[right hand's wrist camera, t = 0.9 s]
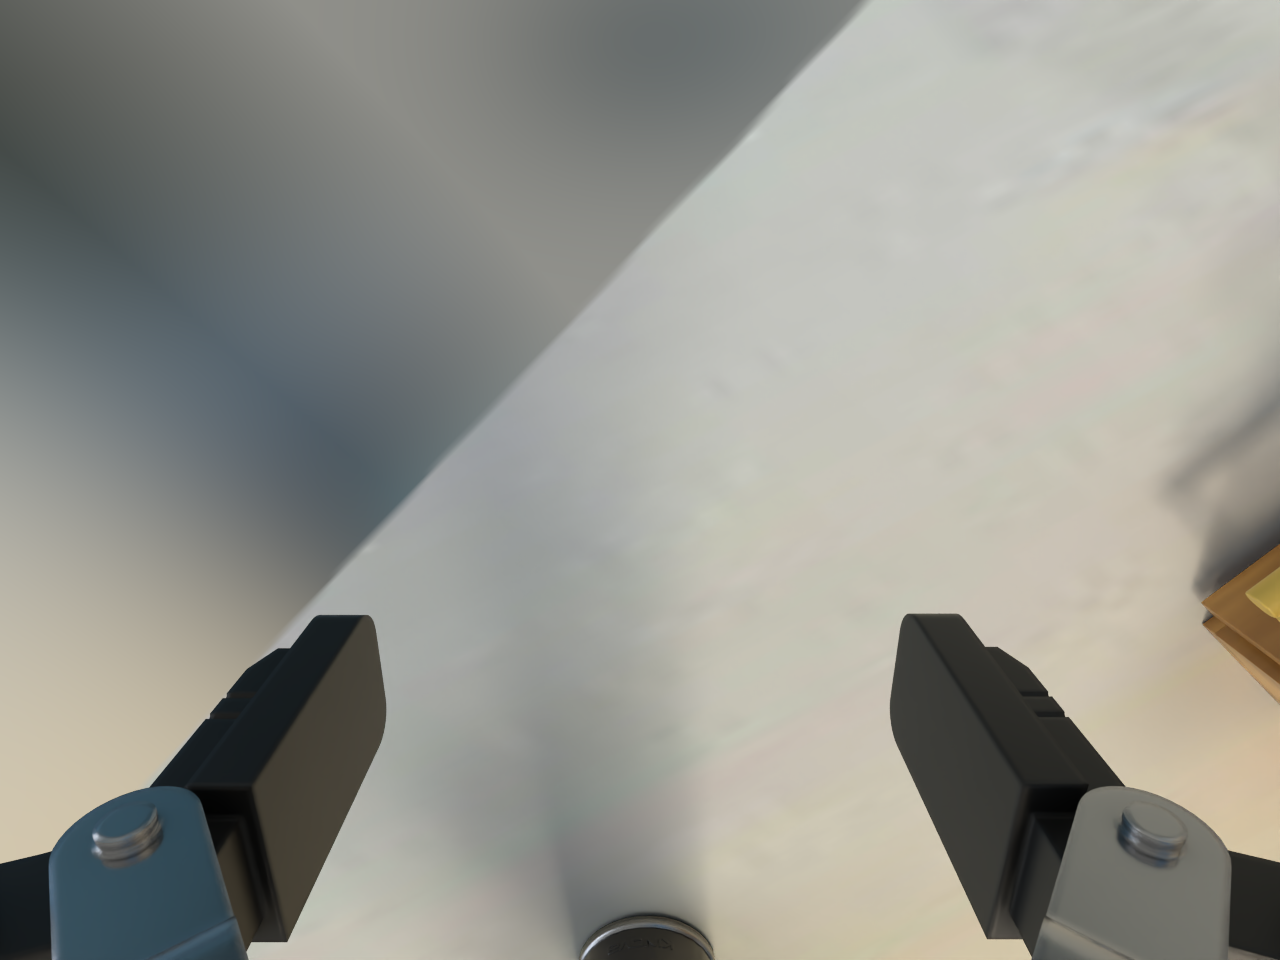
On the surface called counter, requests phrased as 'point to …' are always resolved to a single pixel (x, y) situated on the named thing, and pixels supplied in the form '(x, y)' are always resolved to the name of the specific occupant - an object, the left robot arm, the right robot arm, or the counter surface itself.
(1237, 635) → the cabinet
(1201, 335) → the counter surface
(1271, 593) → the drawer
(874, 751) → the counter surface
